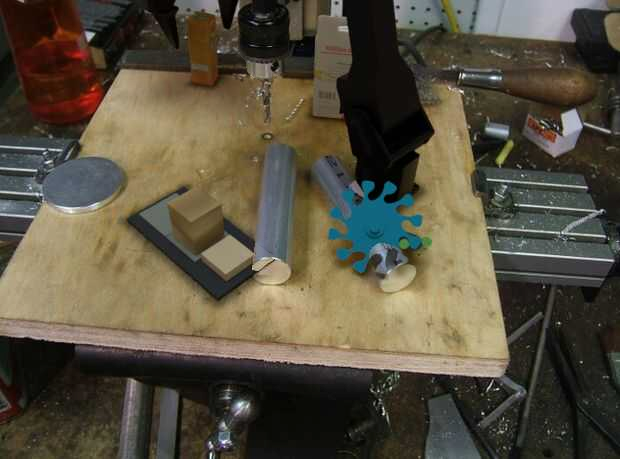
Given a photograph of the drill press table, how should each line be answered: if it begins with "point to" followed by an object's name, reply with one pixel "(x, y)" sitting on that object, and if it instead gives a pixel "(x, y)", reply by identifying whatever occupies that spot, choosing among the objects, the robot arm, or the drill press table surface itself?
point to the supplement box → (203, 48)
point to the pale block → (196, 220)
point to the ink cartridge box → (330, 64)
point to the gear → (376, 224)
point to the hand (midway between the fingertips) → (202, 38)
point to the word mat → (209, 263)
